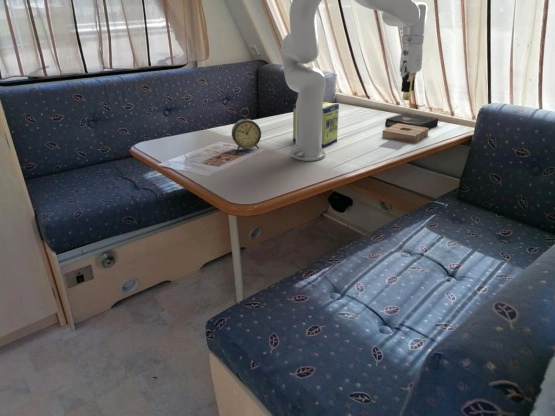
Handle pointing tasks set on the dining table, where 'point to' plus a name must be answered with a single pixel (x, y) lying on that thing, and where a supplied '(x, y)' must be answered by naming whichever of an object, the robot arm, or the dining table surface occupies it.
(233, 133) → the alarm clock
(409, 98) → the pin
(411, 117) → the portable cd player
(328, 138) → the protein box
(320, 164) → the dining table surface
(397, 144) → the mat
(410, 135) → the block
